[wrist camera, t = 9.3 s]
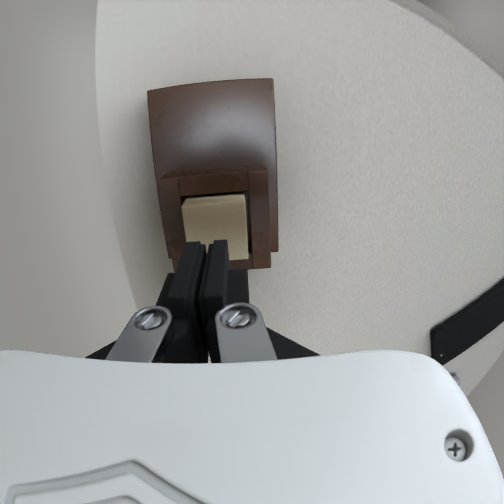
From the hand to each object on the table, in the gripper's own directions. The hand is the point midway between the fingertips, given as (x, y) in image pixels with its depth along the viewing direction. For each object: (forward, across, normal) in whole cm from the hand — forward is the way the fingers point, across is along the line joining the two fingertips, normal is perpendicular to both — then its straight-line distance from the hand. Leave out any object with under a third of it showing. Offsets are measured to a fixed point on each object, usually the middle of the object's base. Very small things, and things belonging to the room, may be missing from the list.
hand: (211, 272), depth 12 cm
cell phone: (+10, -33, +16) cm, 38 cm away
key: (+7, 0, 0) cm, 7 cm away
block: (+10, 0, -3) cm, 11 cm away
